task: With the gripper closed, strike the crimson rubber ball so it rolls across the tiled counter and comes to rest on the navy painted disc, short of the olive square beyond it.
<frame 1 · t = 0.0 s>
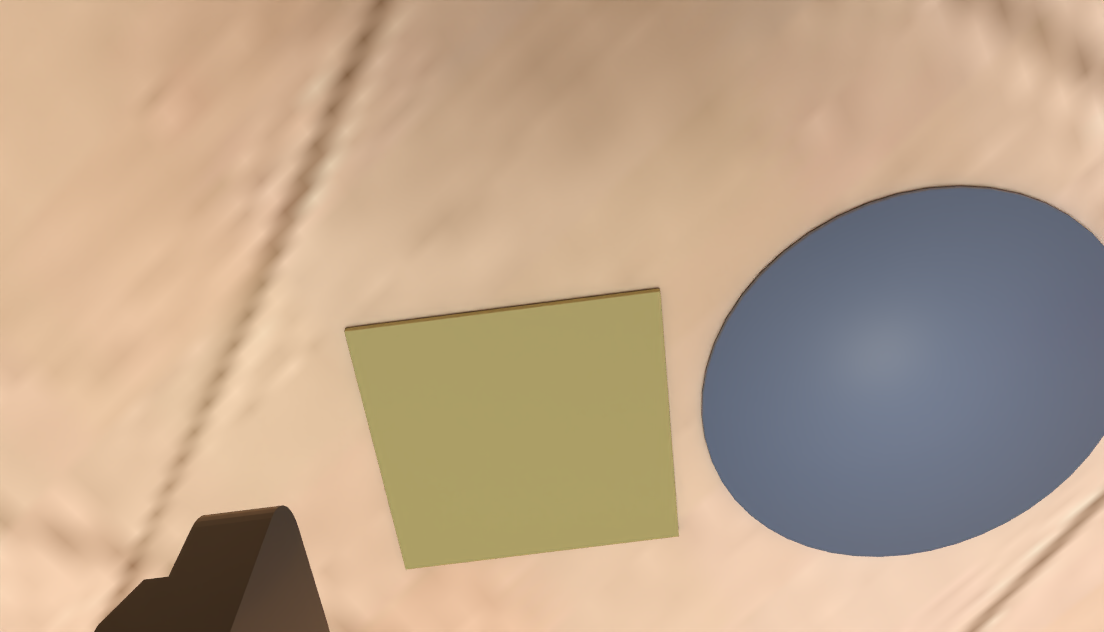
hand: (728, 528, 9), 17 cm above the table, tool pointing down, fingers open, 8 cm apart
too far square: (523, 437, 29), on the table
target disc: (914, 388, 29), on the table
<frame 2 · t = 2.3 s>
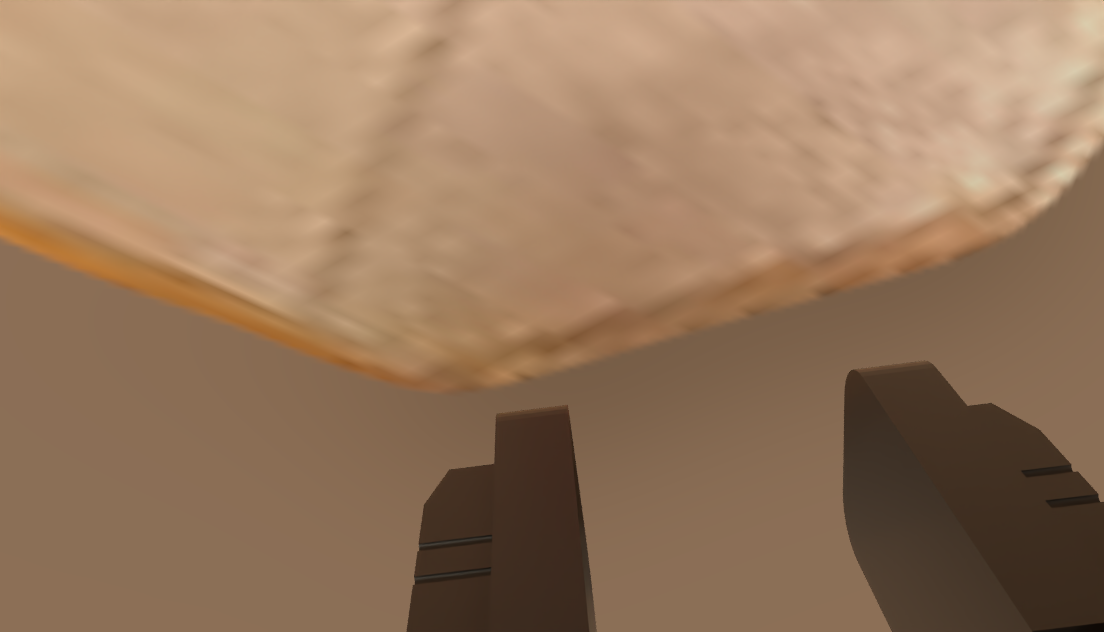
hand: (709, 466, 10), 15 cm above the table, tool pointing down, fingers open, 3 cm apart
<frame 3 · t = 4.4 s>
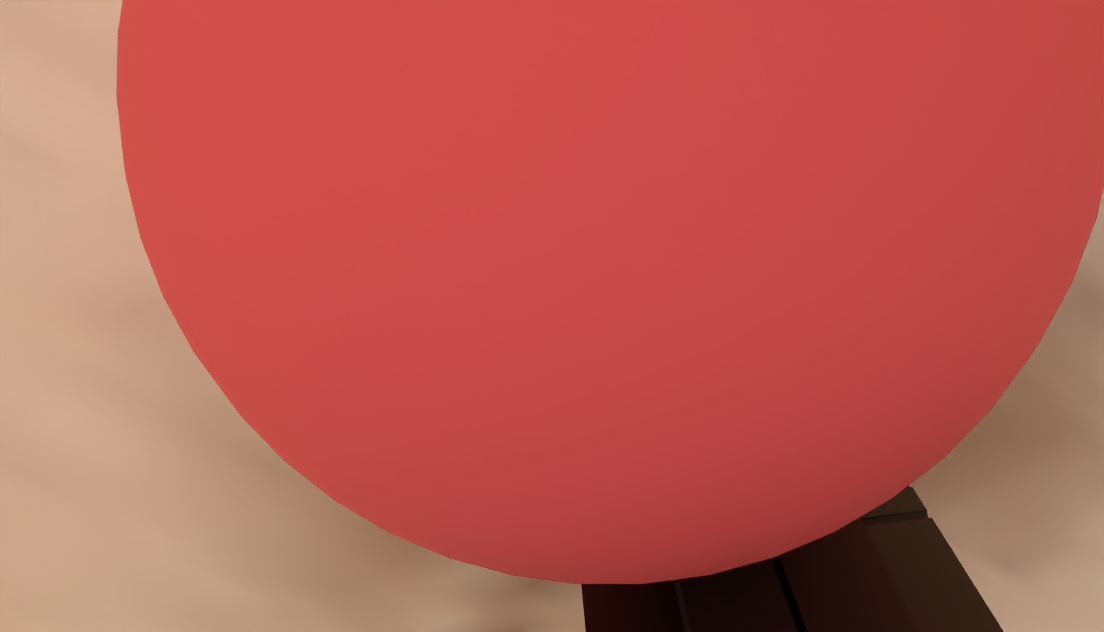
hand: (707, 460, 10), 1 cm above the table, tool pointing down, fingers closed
ball: (603, 125, 6), on the table
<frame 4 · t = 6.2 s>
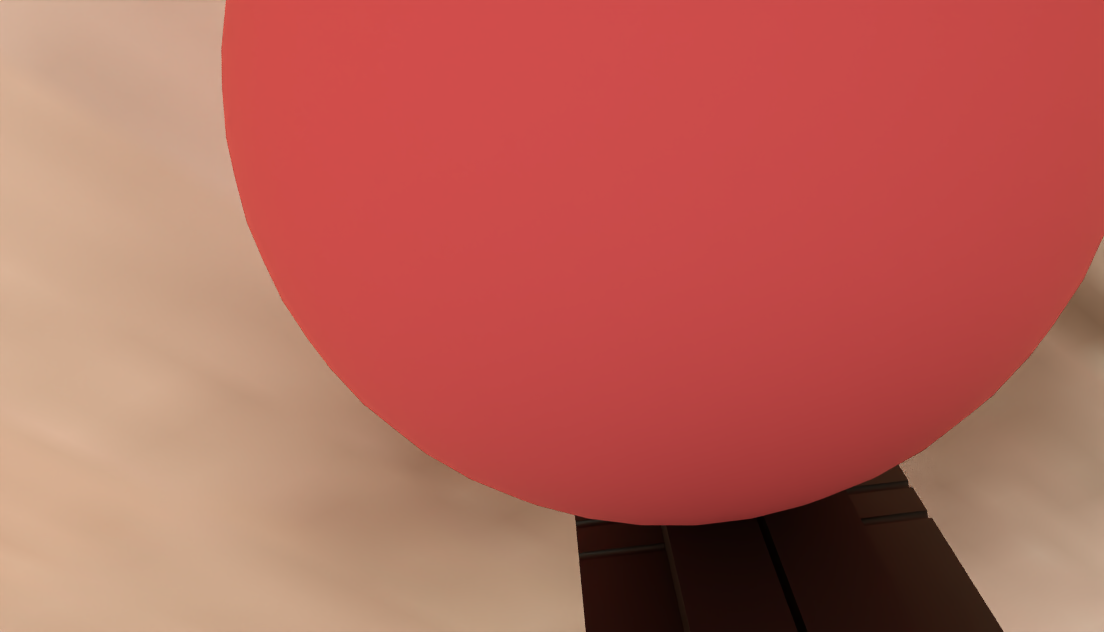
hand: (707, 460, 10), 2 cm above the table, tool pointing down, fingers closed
ball: (658, 102, 7), on the table, touching gripper
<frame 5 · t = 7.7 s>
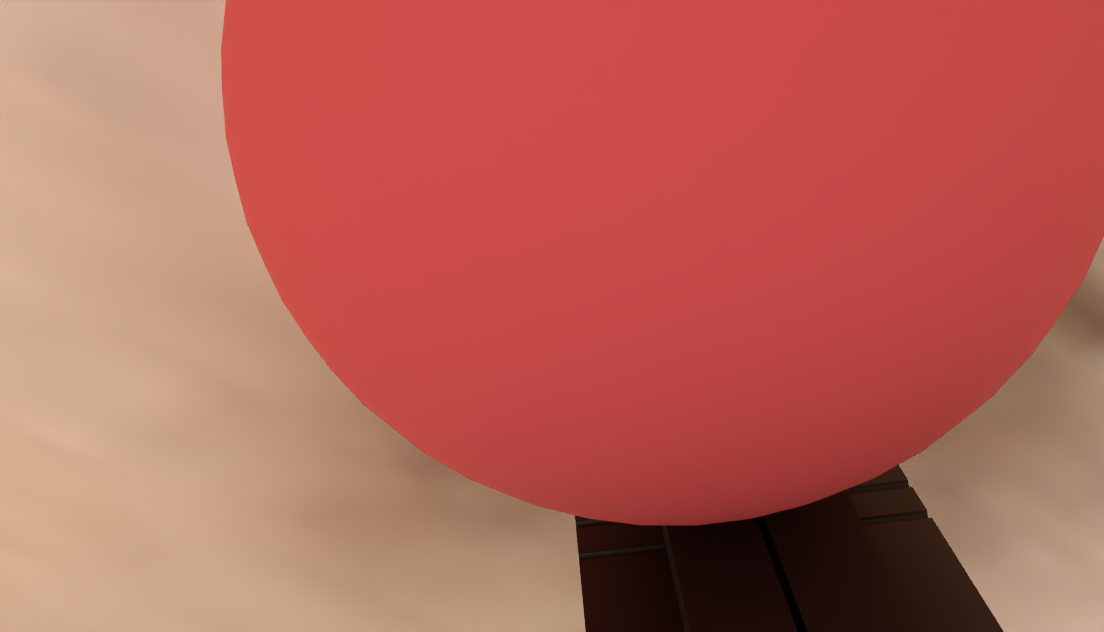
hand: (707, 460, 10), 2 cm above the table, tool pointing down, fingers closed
ball: (658, 102, 7), on the table, touching gripper
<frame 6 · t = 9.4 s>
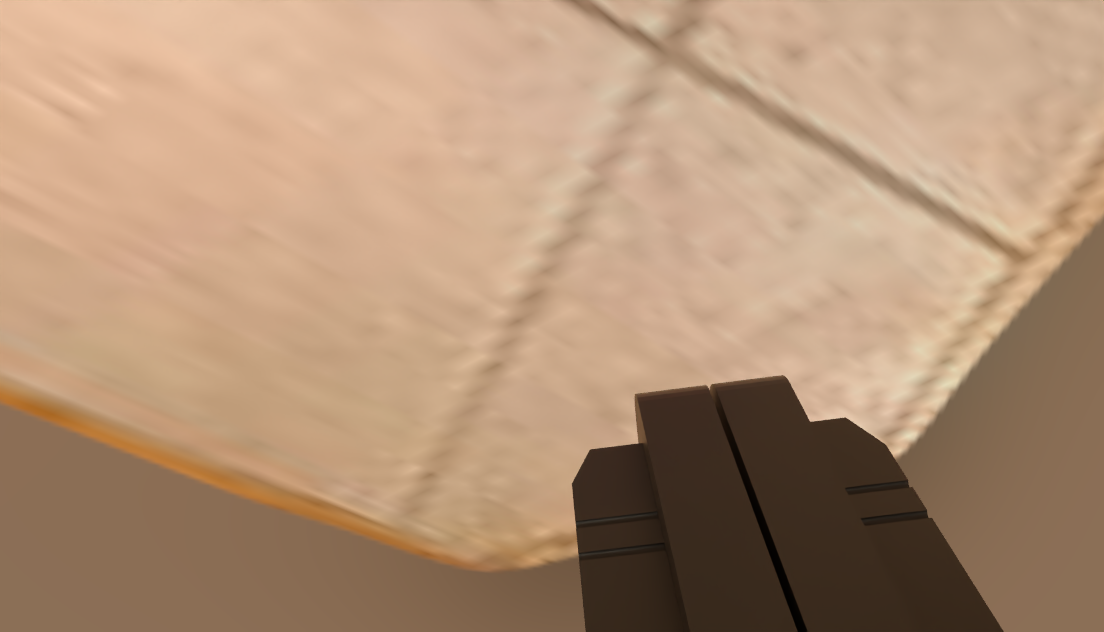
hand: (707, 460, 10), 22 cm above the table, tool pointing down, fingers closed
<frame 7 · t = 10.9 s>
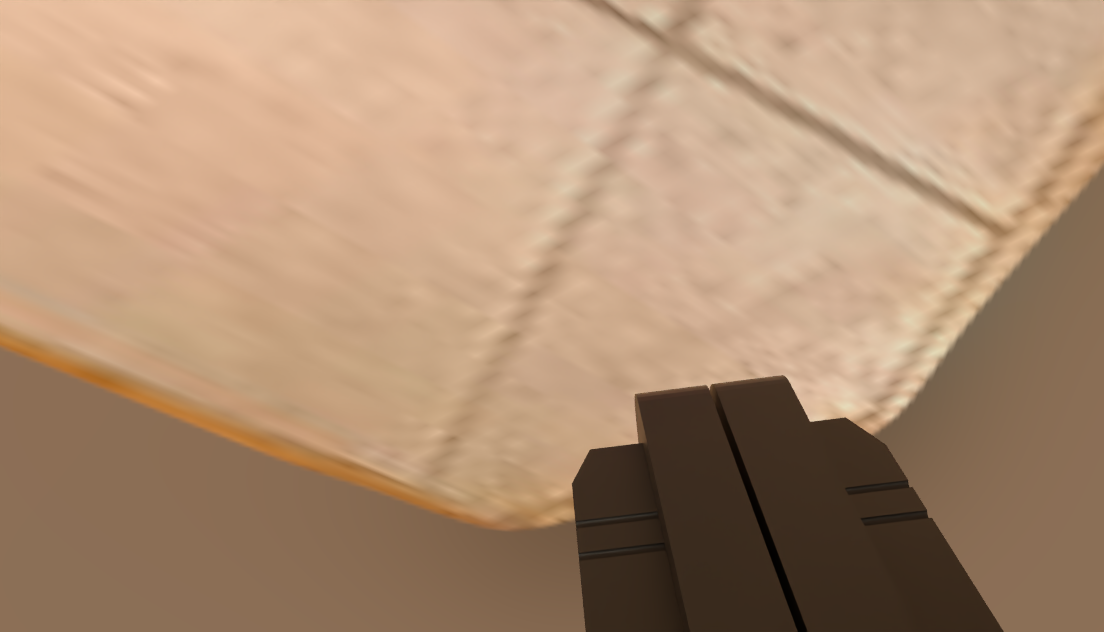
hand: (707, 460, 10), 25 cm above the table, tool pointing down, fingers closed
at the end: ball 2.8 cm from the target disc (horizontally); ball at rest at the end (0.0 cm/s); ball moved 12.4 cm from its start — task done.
